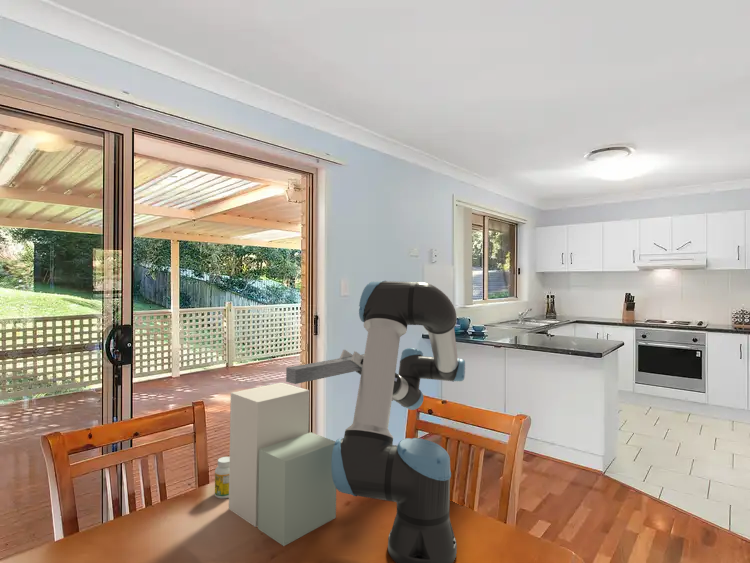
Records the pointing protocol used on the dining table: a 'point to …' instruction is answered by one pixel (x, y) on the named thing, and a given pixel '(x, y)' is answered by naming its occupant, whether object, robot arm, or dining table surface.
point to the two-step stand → (279, 463)
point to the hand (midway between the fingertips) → (348, 355)
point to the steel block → (320, 370)
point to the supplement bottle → (222, 478)
